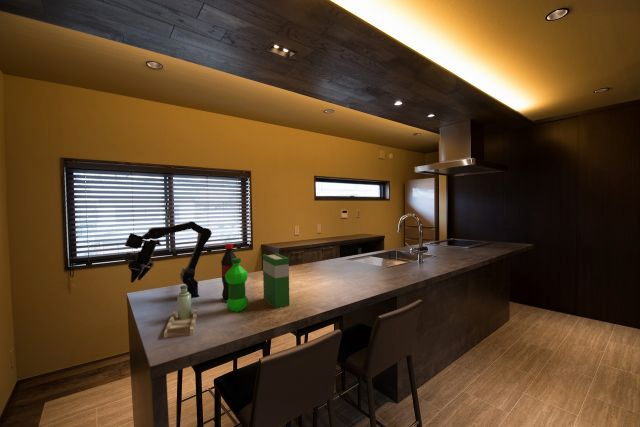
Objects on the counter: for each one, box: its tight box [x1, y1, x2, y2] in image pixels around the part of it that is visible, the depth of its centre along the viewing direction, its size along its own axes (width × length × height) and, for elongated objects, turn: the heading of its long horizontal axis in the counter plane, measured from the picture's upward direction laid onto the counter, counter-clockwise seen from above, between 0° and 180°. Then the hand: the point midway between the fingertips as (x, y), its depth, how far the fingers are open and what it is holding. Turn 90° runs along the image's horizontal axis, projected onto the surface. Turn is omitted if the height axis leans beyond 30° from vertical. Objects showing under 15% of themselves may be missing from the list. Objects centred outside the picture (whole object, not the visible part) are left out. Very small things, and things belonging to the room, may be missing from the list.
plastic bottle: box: [225, 257, 249, 313], centre depth 141 cm, size 10×10×25 cm
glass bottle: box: [176, 285, 193, 320], centre depth 132 cm, size 6×6×14 cm
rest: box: [163, 308, 199, 339], centre depth 125 cm, size 24×10×4 cm, turn 19°
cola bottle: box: [220, 243, 237, 302], centre depth 156 cm, size 8×8×30 cm
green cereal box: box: [262, 252, 290, 309], centre depth 152 cm, size 18×7×24 cm, turn 30°
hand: (135, 281), depth 147 cm, fingers open, 9 cm apart
